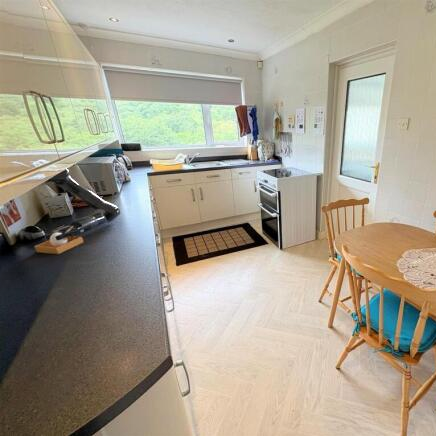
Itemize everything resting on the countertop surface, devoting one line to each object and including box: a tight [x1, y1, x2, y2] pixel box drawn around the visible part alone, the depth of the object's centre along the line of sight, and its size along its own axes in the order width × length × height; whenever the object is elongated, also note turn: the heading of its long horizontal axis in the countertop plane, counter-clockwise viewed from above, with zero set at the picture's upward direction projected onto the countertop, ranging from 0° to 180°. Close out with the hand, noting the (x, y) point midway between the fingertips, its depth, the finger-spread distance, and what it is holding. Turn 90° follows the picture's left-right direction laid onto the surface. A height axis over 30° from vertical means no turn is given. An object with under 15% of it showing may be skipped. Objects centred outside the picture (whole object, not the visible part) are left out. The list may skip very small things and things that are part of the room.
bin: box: [34, 235, 84, 255], centre depth 114 cm, size 12×12×4 cm
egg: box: [49, 232, 67, 247], centre depth 113 cm, size 6×6×8 cm
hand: (51, 238), depth 110 cm, fingers closed on egg, 5 cm apart
